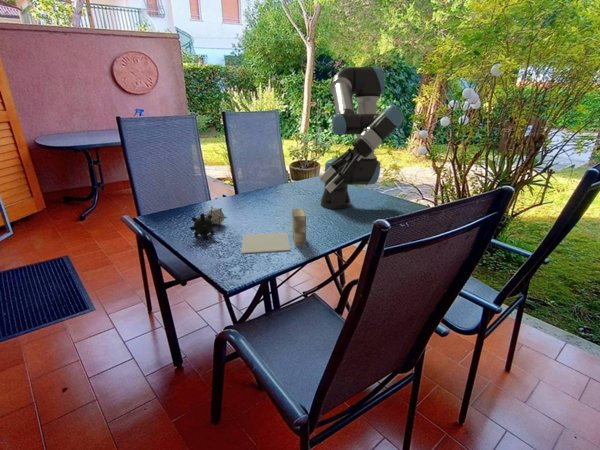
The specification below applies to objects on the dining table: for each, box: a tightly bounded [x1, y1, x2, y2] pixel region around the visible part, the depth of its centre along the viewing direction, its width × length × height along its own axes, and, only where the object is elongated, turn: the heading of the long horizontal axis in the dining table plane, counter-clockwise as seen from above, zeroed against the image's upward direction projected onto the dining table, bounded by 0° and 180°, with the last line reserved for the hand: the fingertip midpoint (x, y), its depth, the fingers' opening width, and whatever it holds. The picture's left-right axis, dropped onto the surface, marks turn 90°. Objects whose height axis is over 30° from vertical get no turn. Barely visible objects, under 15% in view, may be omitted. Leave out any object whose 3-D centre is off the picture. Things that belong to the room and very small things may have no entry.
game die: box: [204, 206, 228, 227], centre depth 148 cm, size 9×8×10 cm
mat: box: [240, 232, 292, 255], centre depth 132 cm, size 18×16×1 cm
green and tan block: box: [291, 208, 307, 247], centre depth 131 cm, size 4×8×12 cm, turn 7°
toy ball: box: [189, 213, 218, 241], centre depth 137 cm, size 11×11×12 cm
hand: (324, 185), depth 127 cm, fingers open, 13 cm apart
